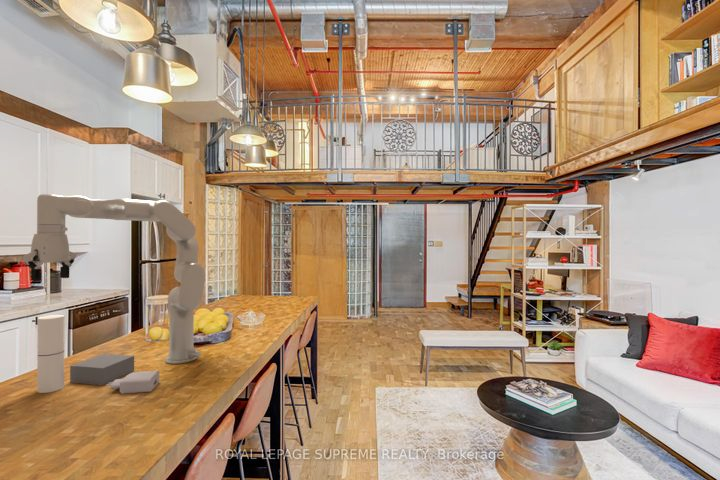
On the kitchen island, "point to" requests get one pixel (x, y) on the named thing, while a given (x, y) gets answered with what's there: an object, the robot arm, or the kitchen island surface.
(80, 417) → the kitchen island surface
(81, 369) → the charcoal block
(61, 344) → the cylindrical container
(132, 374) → the charger
